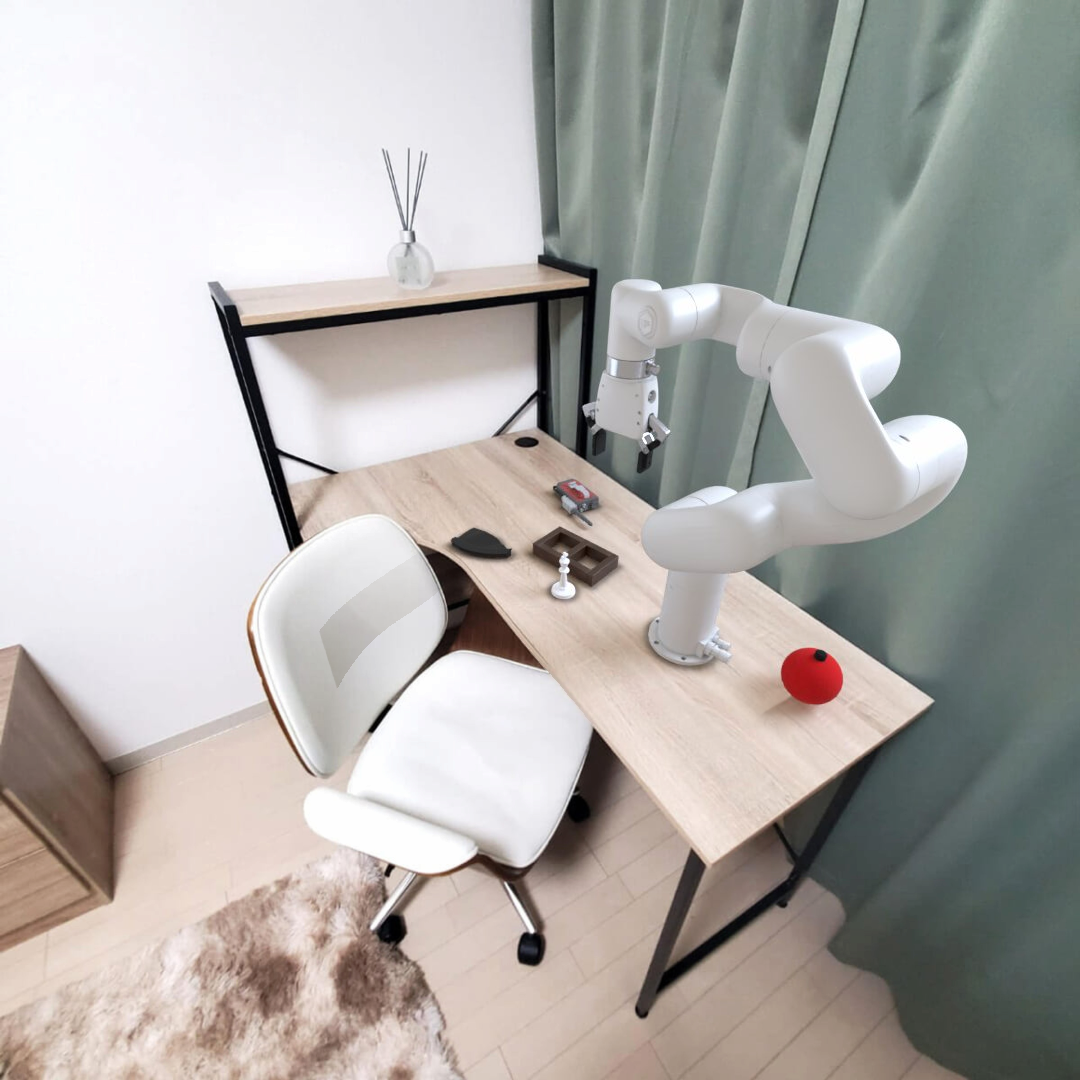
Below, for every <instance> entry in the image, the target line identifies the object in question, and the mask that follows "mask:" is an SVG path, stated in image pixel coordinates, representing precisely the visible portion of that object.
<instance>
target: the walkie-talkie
mask: <svg viewBox="0 0 1080 1080" xmlns="http://www.w3.org/2000/svg"><path fill="white" fill-rule="evenodd" d="M552 490H553V491H554V492H555V494H556V495H557V496H558V497H559V498H560V499H561V501H562V508H563V509H565V511H566V512H568V514H569V515H572V514H574V515H576V516H577V517H578V518H579V519H580V520H582V521H583V522H585V524H587V525H588V526H589V527H593V524H594V523H593V522H592V521H591V520H590V519H588V518H587V517H586V516H585V515H584V514H582V513H584V512H586V511H589V510H592V509H594V510H595V509H596V508H598V507H599V503H600V502H599V501H600V497H599V496H598V495H597V494H595V493H594V492H593V491H592V490H591V489H589V488H588V487H586V486H585V485H584V484H583V483H581V482H580V480H577V479H574V478H570V479H569V478H568V479H566V480H562V481H559V482H558V483H556V485H553V486H552Z"/></svg>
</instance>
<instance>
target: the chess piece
mask: <svg viewBox="0 0 1080 1080" xmlns="http://www.w3.org/2000/svg"><path fill="white" fill-rule="evenodd" d="M566 552H567V551H563V552H562V554H563V556H561V559H560V560H559V562H560V565H561V567H560V568H558V572H559V573H560V580H559V581H557V582H554V584H552V587H551V594H552V596H553V597H554V598H557V599H558V600H568V599H571V598H573V597H574V596H575V594H576V588H575V587H576V586H575V585H574V584H573V583H572V582H569V581H568V575H567V574H568V572H569V568H568V567H567V566H568V564H569V559H568V558H566V557H567V556H568V553H566Z"/></svg>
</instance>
